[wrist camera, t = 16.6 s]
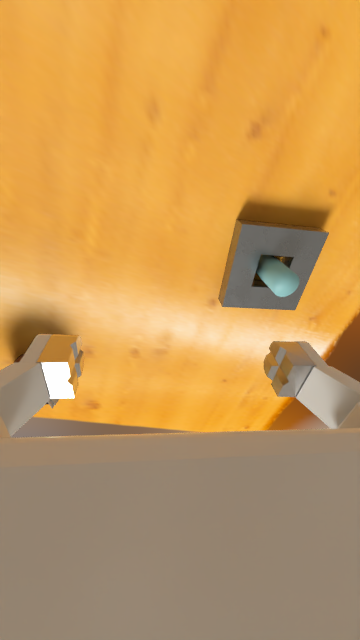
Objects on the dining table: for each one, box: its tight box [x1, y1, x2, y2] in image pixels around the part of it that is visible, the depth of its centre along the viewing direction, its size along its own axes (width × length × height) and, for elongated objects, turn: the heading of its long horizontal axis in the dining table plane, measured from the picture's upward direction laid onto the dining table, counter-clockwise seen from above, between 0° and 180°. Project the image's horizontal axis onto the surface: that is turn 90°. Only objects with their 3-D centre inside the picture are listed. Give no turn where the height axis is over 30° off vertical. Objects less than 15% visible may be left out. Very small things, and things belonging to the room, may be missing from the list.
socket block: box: [218, 220, 329, 310], centre depth 41 cm, size 14×14×3 cm
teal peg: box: [256, 255, 299, 297], centre depth 39 cm, size 4×4×8 cm
